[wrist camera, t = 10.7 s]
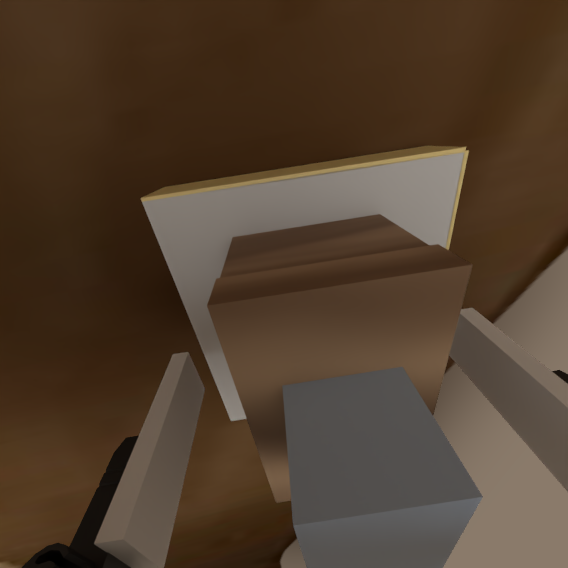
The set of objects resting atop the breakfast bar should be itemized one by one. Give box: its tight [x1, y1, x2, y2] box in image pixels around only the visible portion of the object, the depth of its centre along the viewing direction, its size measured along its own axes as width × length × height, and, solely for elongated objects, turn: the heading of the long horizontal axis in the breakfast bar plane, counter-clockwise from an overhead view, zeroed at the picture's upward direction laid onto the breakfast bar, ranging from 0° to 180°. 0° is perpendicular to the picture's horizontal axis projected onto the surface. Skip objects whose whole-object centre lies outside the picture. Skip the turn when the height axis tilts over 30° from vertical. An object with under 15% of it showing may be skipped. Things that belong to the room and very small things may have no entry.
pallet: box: [207, 214, 473, 502], centre depth 12 cm, size 12×7×6 cm, turn 8°
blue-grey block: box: [282, 367, 483, 568], centre depth 8 cm, size 5×4×4 cm
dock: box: [141, 146, 469, 421], centre depth 16 cm, size 16×14×3 cm
